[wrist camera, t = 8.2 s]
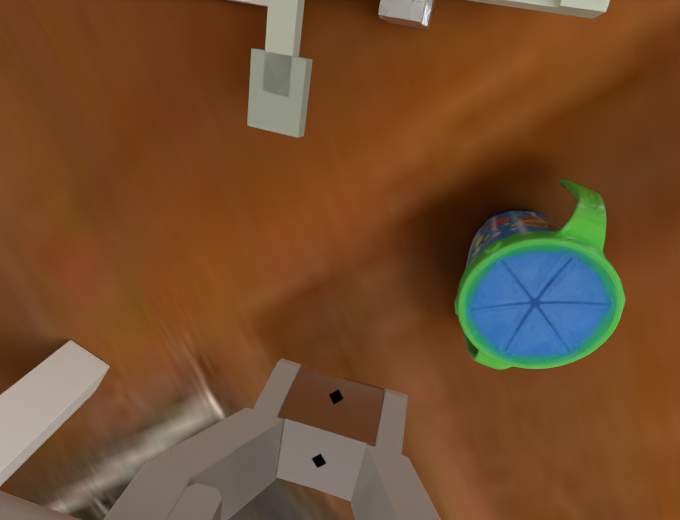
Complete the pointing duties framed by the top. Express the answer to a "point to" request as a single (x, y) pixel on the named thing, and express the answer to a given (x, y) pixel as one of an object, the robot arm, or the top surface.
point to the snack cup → (539, 287)
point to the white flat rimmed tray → (254, 2)
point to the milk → (45, 402)
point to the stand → (407, 12)
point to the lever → (295, 72)
